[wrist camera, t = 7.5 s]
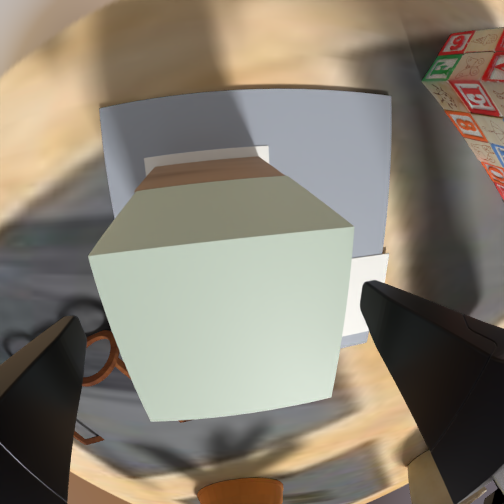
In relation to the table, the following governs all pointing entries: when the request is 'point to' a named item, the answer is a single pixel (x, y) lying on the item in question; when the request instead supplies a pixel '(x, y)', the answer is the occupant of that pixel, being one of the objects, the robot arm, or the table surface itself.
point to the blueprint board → (271, 156)
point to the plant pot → (431, 483)
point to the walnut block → (207, 172)
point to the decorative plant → (243, 492)
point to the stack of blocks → (474, 93)
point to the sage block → (226, 295)
